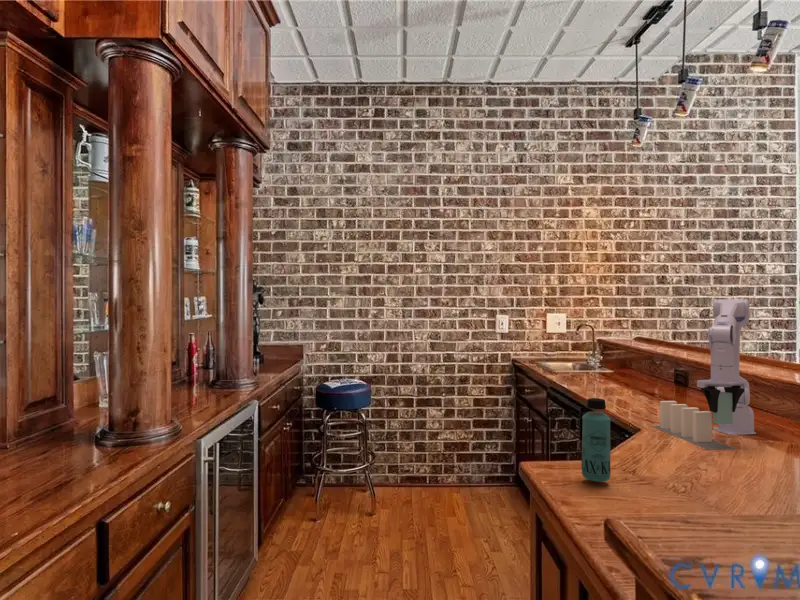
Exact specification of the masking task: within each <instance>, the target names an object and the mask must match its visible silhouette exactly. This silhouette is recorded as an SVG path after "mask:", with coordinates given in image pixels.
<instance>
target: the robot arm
mask: <svg viewBox="0 0 800 600" xmlns="http://www.w3.org/2000/svg"><path fill="white" fill-rule="evenodd" d="M712 314H713V316H714V321H713V324H711V326H708V328H707V330H708V331H707V338H708V339H707V340H708V342H709V343H708V344H709V351H710V378H709V379H698V380H696V387H697V388H700V390H701V391H702V393H703V395H704V397H705V399H706V401H707V405H708V408H709V412H712V413H713V412H715V413H716V412H717V411H718V398H719V394H720V392H730V393H732V401H733V407H732V412H733V424H718V426H717V427H716V426H714V427H712V429H713V430H715V431H718V432H720V433H724V434H726V435H729V436H735V435H756V434H757V432H755V413H754V410H753V409H752V408H751V406H749V405H750V401H751V391H750V382H748V380H747V379H745V378H744V377H742V376H741V375H740V361H741V360H740V354H741V353H740V352H741V349H740V348H741V333H742V329H743V328H744V327H746V326H748V325H749V322H750V301H749V299H748V298H738V299H737V298H735V299H734V298H729V299H728V298H727V299H723V298H722V299H721V298H720V299H718V298H715V299H714V300H713V302H712Z"/></svg>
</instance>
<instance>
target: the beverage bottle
mask: <svg viewBox="0 0 800 600" xmlns="http://www.w3.org/2000/svg"><path fill="white" fill-rule="evenodd" d="M586 408H588V409H591V410H605V409H607V406H606V400H605V399H603V398H596V397H590V398H588V399H587V405H586ZM581 419H582V431H581V432H582V433H581V434H582V436H581V437H582V438H581V462H580V463H581V471H580V472H581V475H582V476H583V477H582V478H584V479H586V480H587V481H588V480H589V481H594V482H607V481H609V480H610V479H611V472H612V471H611V454H612V453H611V450H612V448H611V442H612V439H611V417H610V416H609V415H608V414H606V413H604V412H603V411H602V412H601V411H587V412H586V413H585V414H583V415H582V417H581Z"/></svg>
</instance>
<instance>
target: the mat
mask: <svg viewBox="0 0 800 600" xmlns="http://www.w3.org/2000/svg"><path fill="white" fill-rule="evenodd" d="M650 427H652V428H654V429H656V430H660V431H661V432H664V433H666V434H668V435H671V436H674V437H675V438H678V439H680V440H683V441H686V442H688V443H690V444H693V445H695V446H697V447H700V448H703V449H705V450H707V451H715V450H716V451H718V450H720V451H721V450H737V448H736V447H733V446H731V445H728V444H725V443H723V442H720V441H718V440H714V439H713V438H712V442H695V441H693V437H682V436H681V433H673V432H670V428H669V429H663V428H660V425H650Z"/></svg>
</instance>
